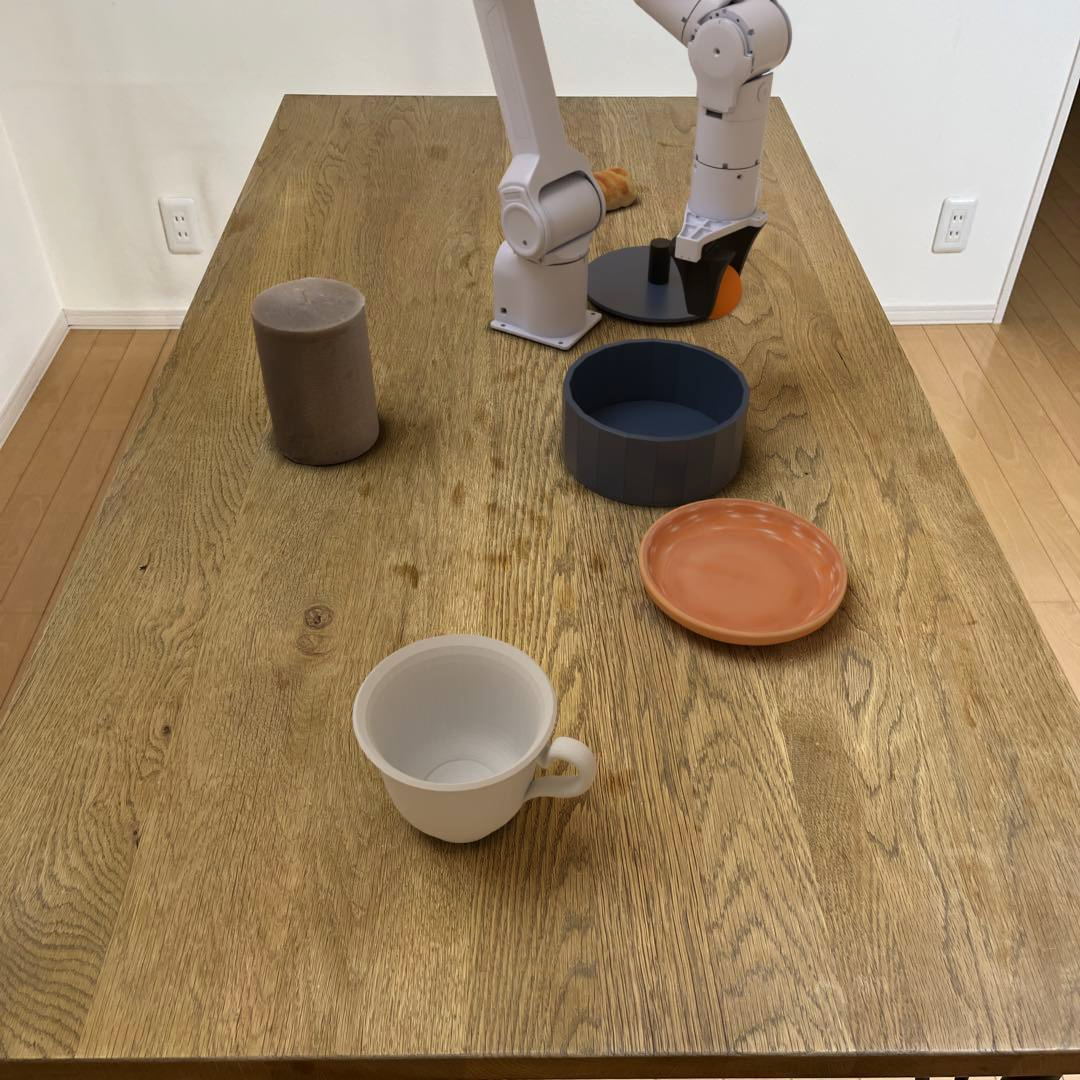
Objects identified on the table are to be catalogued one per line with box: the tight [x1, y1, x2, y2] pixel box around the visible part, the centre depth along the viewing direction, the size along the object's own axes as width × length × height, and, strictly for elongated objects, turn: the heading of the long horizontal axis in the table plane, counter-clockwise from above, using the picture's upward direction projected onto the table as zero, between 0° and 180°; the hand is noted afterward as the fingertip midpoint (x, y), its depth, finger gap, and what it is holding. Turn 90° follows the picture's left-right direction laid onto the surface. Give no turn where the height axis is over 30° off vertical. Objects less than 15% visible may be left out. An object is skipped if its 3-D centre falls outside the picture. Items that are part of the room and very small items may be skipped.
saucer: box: [638, 497, 848, 646], centre depth 86 cm, size 16×16×3 cm
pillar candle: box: [250, 276, 380, 466], centre depth 98 cm, size 10×10×15 cm
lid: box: [587, 237, 703, 324], centre depth 123 cm, size 17×17×6 cm
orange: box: [707, 265, 743, 320], centre depth 101 cm, size 5×5×5 cm
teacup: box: [351, 633, 597, 844], centre depth 68 cm, size 12×15×10 cm
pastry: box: [592, 165, 638, 212], centre depth 140 cm, size 9×7×4 cm
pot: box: [560, 337, 751, 508], centre depth 99 cm, size 16×16×7 cm
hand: (711, 301), depth 102 cm, fingers closed on orange, 5 cm apart
